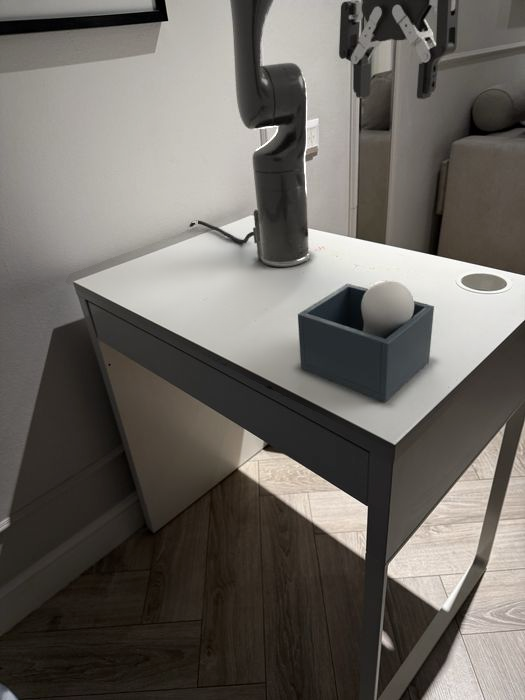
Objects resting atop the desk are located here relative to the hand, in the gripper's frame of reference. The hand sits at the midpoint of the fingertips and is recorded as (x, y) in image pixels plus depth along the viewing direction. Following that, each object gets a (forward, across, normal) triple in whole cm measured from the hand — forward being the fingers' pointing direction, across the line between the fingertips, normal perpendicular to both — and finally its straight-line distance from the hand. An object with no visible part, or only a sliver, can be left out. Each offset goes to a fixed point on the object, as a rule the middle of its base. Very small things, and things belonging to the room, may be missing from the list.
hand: (391, 97), depth 64 cm
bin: (+29, -6, +14) cm, 33 cm away
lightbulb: (+28, -7, +14) cm, 32 cm away
